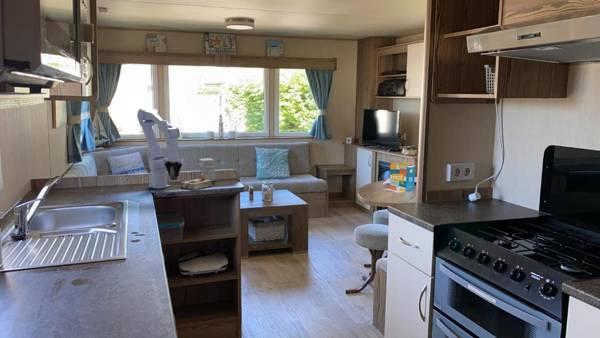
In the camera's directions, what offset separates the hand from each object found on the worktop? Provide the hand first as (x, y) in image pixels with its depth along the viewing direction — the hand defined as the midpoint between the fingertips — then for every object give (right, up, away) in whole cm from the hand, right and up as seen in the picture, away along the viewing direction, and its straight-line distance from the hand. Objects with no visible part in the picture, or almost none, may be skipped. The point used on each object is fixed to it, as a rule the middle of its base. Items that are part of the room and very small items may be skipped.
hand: (173, 176), depth 251 cm
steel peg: (0, -2, 0) cm, 2 cm away
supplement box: (+12, -3, +30) cm, 32 cm away
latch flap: (+12, -1, +14) cm, 18 cm away
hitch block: (+10, -6, +11) cm, 16 cm away
